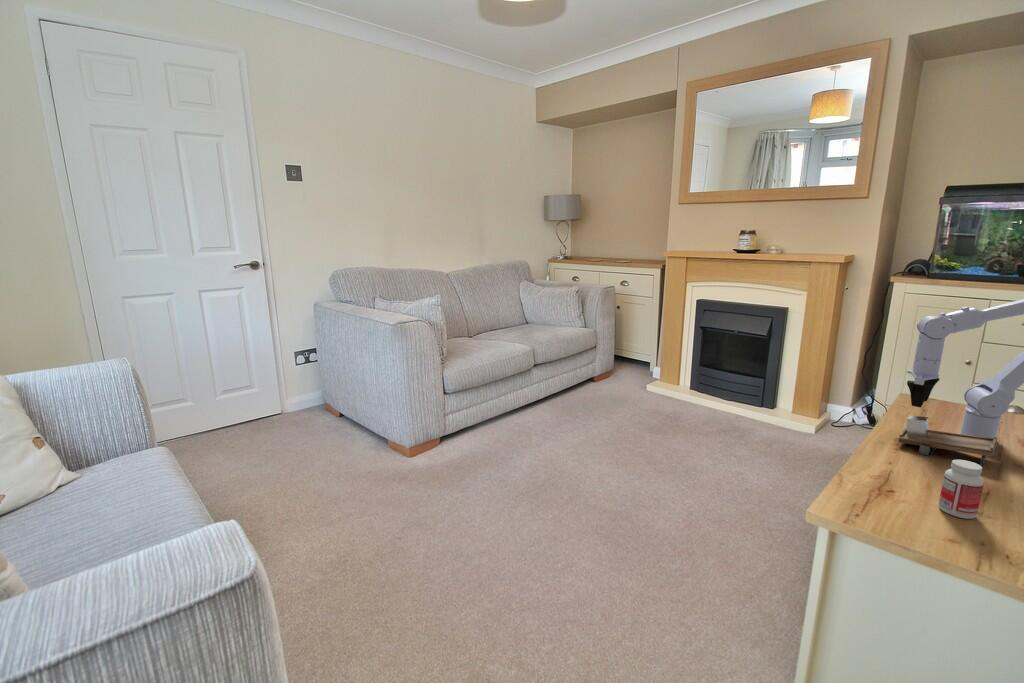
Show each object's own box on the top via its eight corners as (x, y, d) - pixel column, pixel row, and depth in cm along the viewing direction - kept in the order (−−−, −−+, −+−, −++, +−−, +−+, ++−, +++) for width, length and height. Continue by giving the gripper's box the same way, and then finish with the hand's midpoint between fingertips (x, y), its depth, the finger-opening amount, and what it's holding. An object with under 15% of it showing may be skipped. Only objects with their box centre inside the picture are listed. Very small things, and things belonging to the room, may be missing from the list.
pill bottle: (980, 513, 103) (991, 466, 100) (971, 523, 99) (982, 474, 97) (943, 500, 108) (953, 455, 105) (933, 509, 104) (943, 462, 102)
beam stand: (909, 436, 142) (911, 426, 141) (987, 455, 130) (989, 445, 129) (898, 449, 133) (900, 439, 132) (980, 471, 121) (983, 460, 120)
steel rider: (910, 432, 138) (910, 415, 137) (928, 434, 135) (928, 417, 134) (906, 436, 135) (906, 418, 134) (925, 438, 132) (925, 421, 131)
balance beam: (907, 431, 141) (907, 425, 141) (997, 444, 127) (997, 436, 127) (898, 442, 134) (898, 435, 134) (992, 456, 120) (992, 448, 120)
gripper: (915, 351, 145) (907, 394, 148) (904, 359, 136) (896, 405, 139) (946, 355, 140) (937, 400, 143) (937, 364, 131) (927, 412, 134)
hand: (919, 403), depth 141 cm, fingers open, 7 cm apart
